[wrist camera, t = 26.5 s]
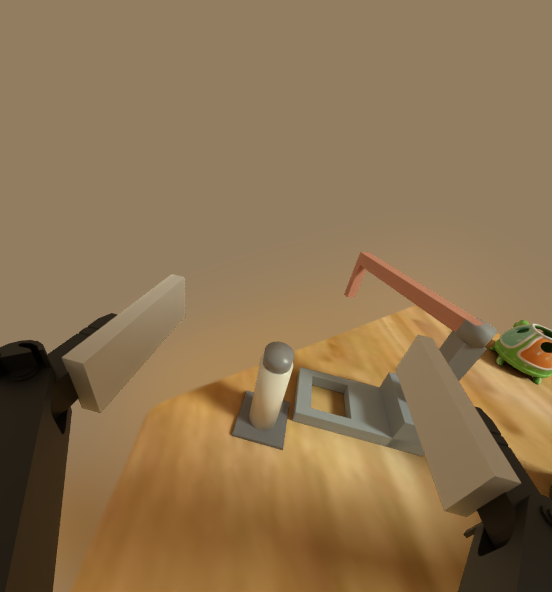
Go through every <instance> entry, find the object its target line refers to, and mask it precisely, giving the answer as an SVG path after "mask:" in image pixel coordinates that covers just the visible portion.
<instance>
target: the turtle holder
mask: <svg viewBox="0 0 552 592" xmlns="http://www.w3.org/2000/svg"><path fill="white" fill-rule="evenodd" d="M537 329H541V330H542V331H543V332H542V333H541V332H539V331H538V330H537ZM490 350H492V351H496V352H497V353H498V354H499V356H498V357H497V359H496V363H497V364H498V365H500V366H502V365H503V362H504V361H506V362H507V363H509V364H510V365H511V366H513V367H514V368H516V369H518V370H520V371H521V372H524V373H526V374H528V375H531V376H534V377H533V381H534V382H535V383H536V384H540V383H541V378H547V377H549V376H551V375H552V330H550V329H548V328H546V327H543V326H541V325H538V324H531V325H530V324H529V323H528V322H527V321H525V320H521V321H520V322H518V323H515V324H514V326H513V328H511V329H510V330H508V331H507V332H505V333H503V334H502V335H501V336H500V339H499V340H497V341H496V342H495V344H494V346H493V347H490Z"/></svg>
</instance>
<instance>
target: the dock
mask: <svg viewBox="0 0 552 592" xmlns="http://www.w3.org/2000/svg"><path fill="white" fill-rule="evenodd" d="M439 350H440V352H441V353H442V355H443V357H444V358H445V360H446V361H447V363H448V365H449V366H450V368H451V370H452V371H453V373H454V374H455V376H456V378H457V379H458V381H460V379H461V378H462V377H463V376H464V375H465V374H466V373H467V371H468V370H469V369H470V368H471V367H472V366H473V365H474V363H475V362H476V361H477V360H478V359H479V358H480V357H481V355H482V354H483V353H484V352H485V351H486V350H487V348H486V347H484V348H476V347H473V346H470V345H468V344H466V343H465V342H463V341H462V340H460V339H459V338H458V337H457V336H456V334H455V332H454V331H452V332H451V334H450V335H449V336H448V338H447V339H446V341H445V342H444V343H443V345H442V346H441V347H440V349H439ZM312 385H314V386H318V387H321V388H325V389H329V390H333V391H337V392H340V393H344V403H345V414H346V417H342V416H338V415H335V414H331V413H327V412H324V411H320V410H316V409H312V408H311V394H312ZM292 421H295V422H299V423H302V424H306V425H310V426H313V427H317V428H320V429H324V430H328V431H331V432H335V433H339V434H342V435H346V436H350V437H353V438H357V439H361V440H364V441H368V442H372V443H375V444H379V445H383V446H386V447H390V448H394V449H397V450H401V451H405V452H408V453H412V454H416V455H419V456H423V455H424V451H423V448H422V445H421V442H420V439H419V436H418V434H417V431H416V428H415V425H414V422H413V419H412V416H411V413H410V411H409V408H408V405H407V402H406V399H405V396H404V393H403V390H402V388H401V385H400V382H399V379H398V376H397V374H394V373H390V372H389V373H388V375H387V377H386V378H385V380H384V381H383V383H382V385H381V386H380V388H379V387H376V386H372V385H368V384H364V383H360V382H356V381H352V380H349V379H345V378H341V377H337V376H333V375H329V374H326V373H322V372H318V371H314V370H310V369H306V368H303V367H300V370H299V373H298V377H297V385H296V394H295V403H294V411H293V420H292Z"/></svg>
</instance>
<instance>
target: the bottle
mask: <svg viewBox="0 0 552 592" xmlns="http://www.w3.org/2000/svg"><path fill="white" fill-rule="evenodd" d="M293 359H294V351H293V350H292V348H291V347H290V346H288V345H287V344H285V343H282V342H272V343H270V344H268V345H267V346H266V348H265V352H264V354H263V355H262V357H261V361H260V365H259V370H258V375H257V380H256V385H255V390H254V395H253V400H252V405H251V410H250V414H249V419H250V422H251V424H252V425H253V426H254V427H255V428H256V429H258V430H261V431H266V430H269V429H271V428H273V427H274V425H275V424H276V421H277V418H278V414H279V411H280V408H281V405H282V402H283V398H284V395H285V392H286V389H287V385H288V382H289V379H290V376H291V373H292V369H293Z"/></svg>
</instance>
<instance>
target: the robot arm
mask: <svg viewBox="0 0 552 592" xmlns="http://www.w3.org/2000/svg"><path fill="white" fill-rule="evenodd" d="M185 315H186V313H185V277H181V276H177V275H173V274H171V275H170V276H169V277H167V278H166V279H165V280H163V281H162V282H161V283H159V284H158V285H157V286H156V287H154V288H153V289H152V290H150V291H149V292H148V293H146V294H145V295H144V296H142V297H141V298H140V299H138V300H137V301H136V302H134V303H133V304H132V305H130V306H129V307H128V308H126V309H125V310H124V311H122V312H121V313H120V314H119V315H116V314H113V313H111V314H109V315H106V316H104V317H101V318H98V319H97V320H96V321H94V322H93V323H91V324H90V325H89V326H88V327H86V328H85V329H83V330H81V331H80V332H79V334H76V335H74V336H73V337H72V338H70V339H69V340H67V341H66V342H65V343H63V344H62V345H60V346H59V347H57V348H56V349H55V350H53V351H52V352H50V353H49V354H48V355H47V353H46V351H45V348H44V346H43V344H41V343H40V342H38V341H33V340H26V341H18V342H14V343H10V344H7V345H5V346H3V347H0V592H53V583H54V572H55V564H56V553H57V545H58V536H59V527H60V517H61V508H62V498H63V489H64V480H65V470H66V460H67V452H68V442H69V433H70V423H71V414H72V410H71V405H72V404H73V403H74V402H75V401H76V400H77V399H79V402H80V404H81V407H82V408H84V409H88V410H91V411H95V412H98V413H101V412H102V411H103V410H104V408H105V407H106V406H107V405H108V404H109V403H110V402H111V401H112V399H113V398H114V397H115V396H116V395H117V394H118V393H119V391H120V390H121V389H122V388H123V387H124V386H125V385H126V383H127V382H128V381H129V380H130V379H131V378H132V377H133V375H134V374H135V373H136V372H137V371H138V370H139V369H140V367H141V366H142V365H143V364H144V363H145V362H146V361H147V360H148V358H149V357H150V356H151V355H152V354H153V353H154V351H155V350H156V349H157V348H158V347H159V346H160V345H161V343H162V342H163V341H164V340H165V339H166V338H167V337H168V336H169V334H170V333H171V332H172V331H173V330H174V329H175V328H176V326H177V325H178V324H179V323H180V322H181V321H182V320H183V318H184V317H185ZM395 370H396V373H397V376H398V379H399V382H400V385H401V388H402V390H403V393H404V396H405V399H406V402H407V405H408V408H409V411H410V413H411V416H412V419H413V422H414V425H415V428H416V431H417V434H418V436H419V439H420V442H421V445H422V448H423V451H424V454H425V457H426V460H427V462H428V465H429V468H430V471H431V474H432V477H433V480H434V483H435V485H436V488H437V491H438V494H439V497H440V500H441V503H442V506H443V508H444V511H447V512H450V513H454V514H457V515H461V516H464V517H467V516H469V515H470V514H472V513H474V512H475V511H478V513H479V516H480V518H481V520H482V522H481V523H479V524H477V525H475V526H474V527H472V528H470V529H468V530H466V532H465V533H464V534H463V535H464V536H465V537H466V538H468V537H470V536H472V535H474V538H473V541H472V545H471V548H470V552H469V555H468V559H467V562H466V566H465V569H464V573H463V576H462V580H461V583H460V587H459V590H458V592H552V486H551V488H550V497H551V499H550V498H548V497H546V496H543V495H541V494H540V493H539V491H538V490H537V488H536V487H535V485H534V484H533V482H532V481H531V479H530V478H529V476H528V474H527V473H526V471H525V470H524V468H523V467H522V465H521V464H520V462H519V461H518V459H517V458H516V456H515V454H514V453H513V451H512V450H511V448H509V447H508V444H507V442H506V441H505V439H504V438H503V437H502V436H501V433H500V431H499V430H498V428H497V427H496V425H495V424H494V422H493V421H492V420H491V419H490V418H489V417H488V416H487V415H486V414H485V413H484V412H483V410H482V409H481V408H478V407H474V405H473V404H472V402H471V400H470V399H469V397H468V396H467V394H466V392H465V391H464V389H463V387H462V386H461V384H460V383H459V381H458V379H457V378H456V376H455V374H454V373H453V371H452V370H451V368H450V366H449V365H448V363H447V361H446V360H445V358H444V357H443V355H442V353H441V352H440V350H439V348H438V347H437V345H436V344H435V342H434V340H433V339H432V338H429V337H425V336H421V335H417V337H416V338H415V340H414V341H413V343H412V344H411V346H410V348H409V349H408V351H407V352H406V354H405V355H404V357H403V358H402V360H401V362H400V363H399V365H398V366H397V368H396V369H395Z"/></svg>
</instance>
